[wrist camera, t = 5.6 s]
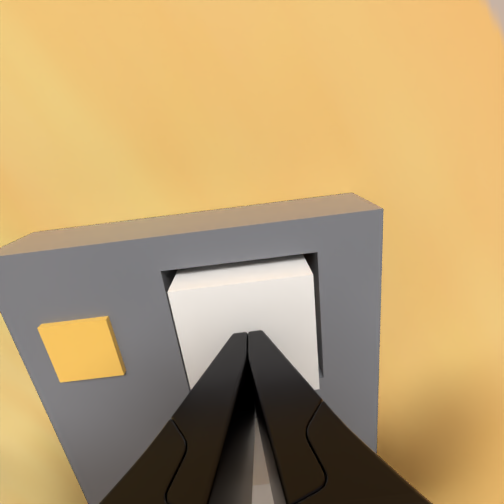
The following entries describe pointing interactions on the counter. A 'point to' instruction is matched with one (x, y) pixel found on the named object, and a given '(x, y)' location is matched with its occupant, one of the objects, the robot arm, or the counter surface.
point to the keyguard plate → (162, 322)
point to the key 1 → (246, 310)
